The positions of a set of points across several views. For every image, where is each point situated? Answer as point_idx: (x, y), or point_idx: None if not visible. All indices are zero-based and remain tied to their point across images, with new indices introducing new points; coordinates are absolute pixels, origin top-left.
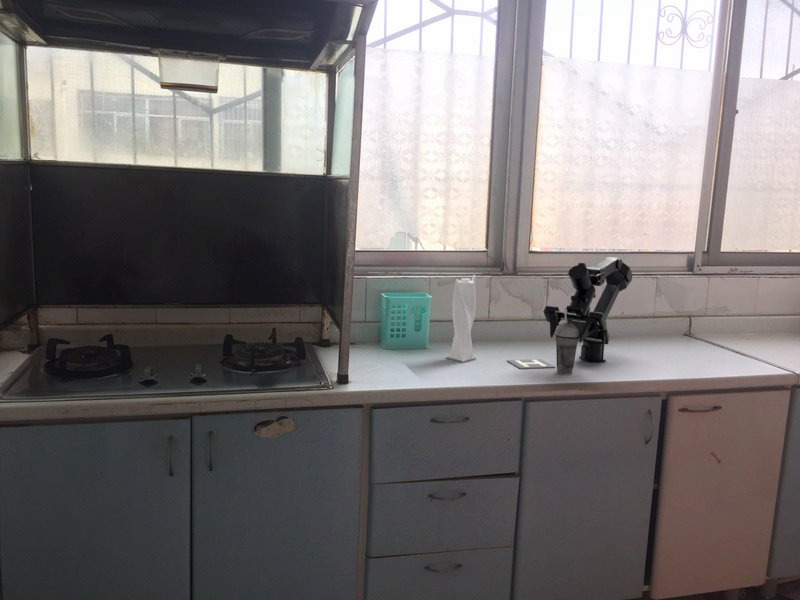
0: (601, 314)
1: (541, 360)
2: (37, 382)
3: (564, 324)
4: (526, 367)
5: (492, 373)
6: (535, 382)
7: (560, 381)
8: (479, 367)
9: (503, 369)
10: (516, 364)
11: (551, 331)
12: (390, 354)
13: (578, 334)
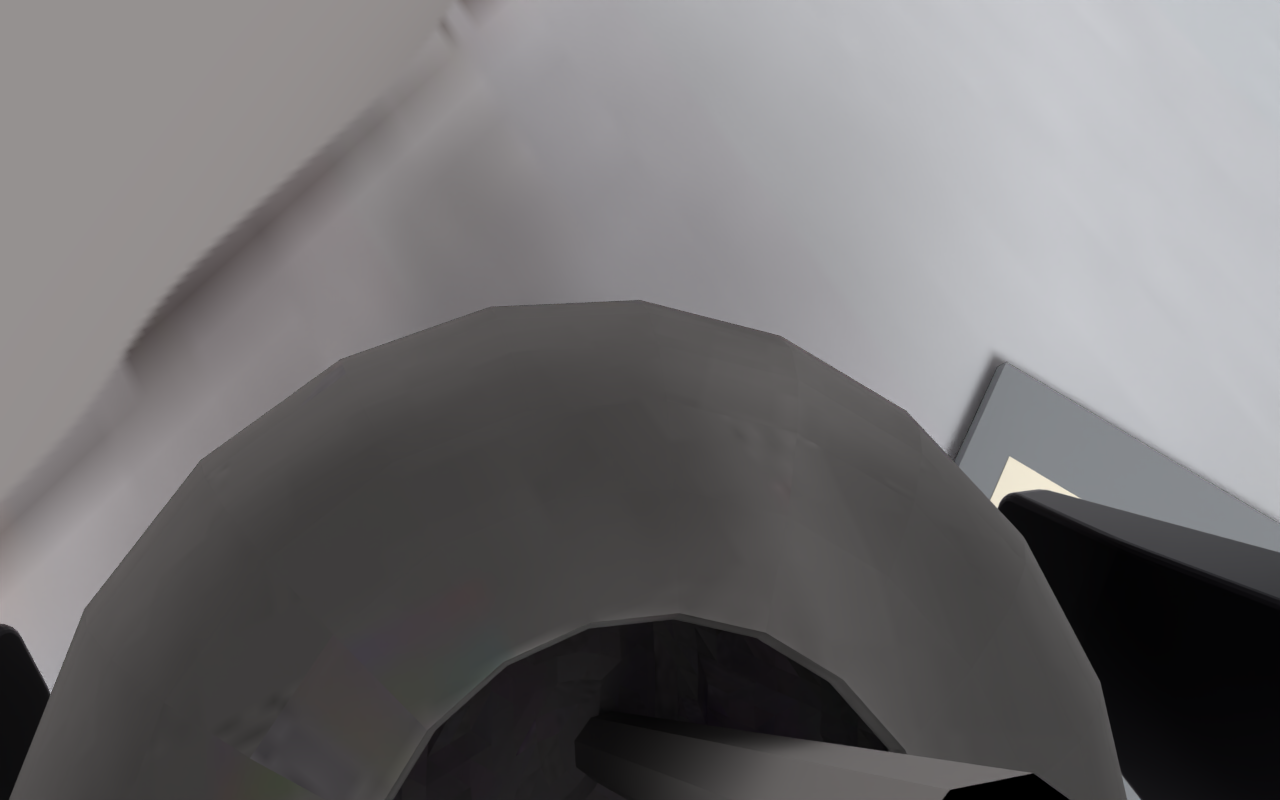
0: None
1: None
2: None
3: (733, 499)
4: (977, 435)
5: (1026, 8)
6: (545, 16)
7: (363, 244)
8: (1255, 105)
9: (1083, 215)
10: (1141, 468)
11: (1146, 538)
12: None
13: None
